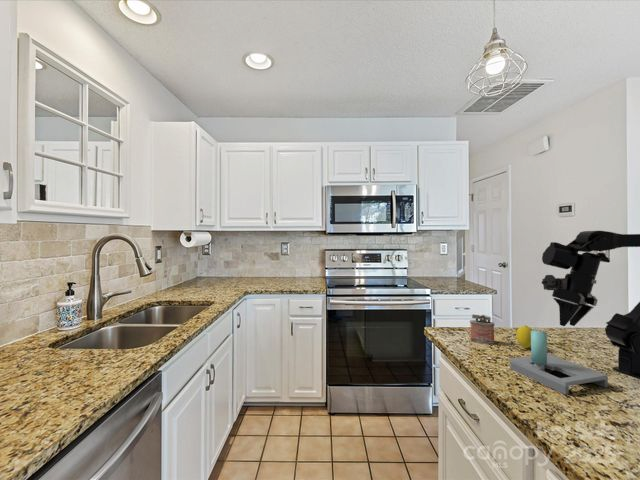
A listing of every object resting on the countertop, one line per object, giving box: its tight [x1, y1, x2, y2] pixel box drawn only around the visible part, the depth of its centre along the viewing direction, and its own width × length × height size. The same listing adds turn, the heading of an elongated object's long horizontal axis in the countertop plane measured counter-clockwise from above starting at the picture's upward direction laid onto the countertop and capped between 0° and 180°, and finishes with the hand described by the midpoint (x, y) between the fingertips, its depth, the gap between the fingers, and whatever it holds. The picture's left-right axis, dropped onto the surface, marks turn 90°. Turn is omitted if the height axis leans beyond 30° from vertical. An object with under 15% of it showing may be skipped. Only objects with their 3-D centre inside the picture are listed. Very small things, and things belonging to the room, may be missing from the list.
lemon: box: [515, 324, 533, 349], centre depth 108 cm, size 6×6×8 cm
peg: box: [530, 329, 550, 374], centre depth 87 cm, size 4×4×12 cm
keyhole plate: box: [509, 352, 609, 396], centre depth 86 cm, size 14×16×3 cm
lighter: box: [469, 314, 496, 345], centre depth 115 cm, size 8×3×10 cm, turn 58°
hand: (567, 325), depth 90 cm, fingers open, 9 cm apart
